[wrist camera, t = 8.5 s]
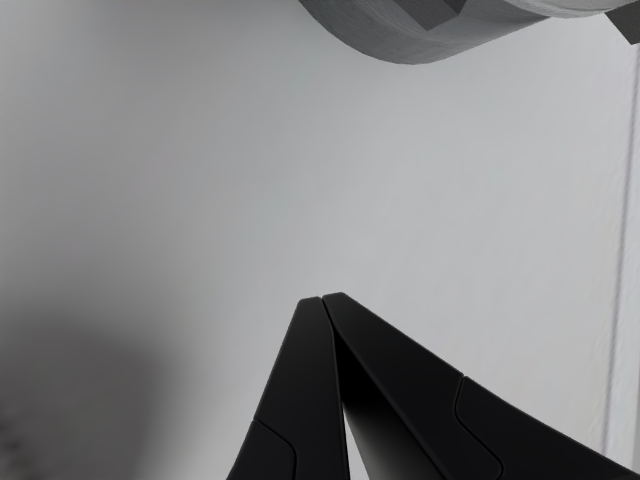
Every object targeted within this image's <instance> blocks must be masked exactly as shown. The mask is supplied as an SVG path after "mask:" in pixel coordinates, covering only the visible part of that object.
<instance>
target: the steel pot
mask: <svg viewBox="0 0 640 480" xmlns="http://www.w3.org/2000/svg"><path fill="white" fill-rule="evenodd" d="M299 1H300V2H301V3H302V5H303V6H304V7H305V8H306V9H307V10H308V12H309V13H310V14H311V15H312V16H313V17H314V18H315V19H316V20H317V21H318V22H319V23H320V24H321V25H322V26H323V27H324V28H325V29H327V30H328V31H329V32H330V33H331V34H333V35H334V36H336V37H337V38H338V39H340V40H341V41H342V42H344V43H345V44H347V45H349V46H350V47H352V48H354V49H356V50H358V51H360V52H361V53H363V54H366V55H369V56H371V57H374V58H377V59H379V60H383V61H388V62H392V63H397V64H412V65H414V64H424V63H431V62H435V61H438V60H442V59H445V58H448V57H450V56H453V55H456V54H458V53H461V52H463V51H466V50H468V49H471V48H473V47H476V46H479V45H481V44H484V43H486V42H489V41H491V40H494V39H496V38H499V37H502V36H504V35H507V34H509V33H512V32H514V31H517V30H519V29H522V28H525V27H527V26H530V25H532V24H535V23H537V22H540V21H542V20H545V19H548V18H550V16H543V15H540V14H537V13H533V12H530V11H527V10H524V9H521V8H518V7H516V6H514V5H512V4H510V3H508V2H506V1H504V0H299ZM604 13H605V14H606V16H607V17H608V18H609V19H610V20H611V22H612V23H613V24H614V25H615V26H616V27H617V29H618V30H619V31H620V32H621V33H622V35H623V36H624V37H625V38H626V39H627V40H628V42H629V43H630V44H631V45H633V44H636V43H640V0H638V1H635V2H632V3H630V4H627V5H624V6H621V7H619V8H616V9H613V10H610V11H607V12H604Z"/></svg>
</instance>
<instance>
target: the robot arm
mask: <svg viewBox="0 0 640 480" xmlns="http://www.w3.org/2000/svg"><path fill="white" fill-rule="evenodd" d="M343 410H344V413H345V416H346V418H347V421H348V424H349V427H350V429H351V432H352V435H353V437H354V440H355V442H356V445H357V448H358V450H359V453H360V455H361V458H362V461H363V463H364V466H365V468H366V471H367V474H368V476H369V479H370V480H640V474H637V473H635V472H633V471H631V470H629V469H627V468H625V467H623V466H621V465H620V464H618V463H616V462H614V461H612V460H610V459H608V458H607V457H605V456H603V455H601V454H599V453H597V452H596V451H594V450H592V449H590V448H588V447H586V446H585V445H583V444H581V443H579V442H577V441H575V440H574V439H572V438H570V437H568V436H566V435H564V434H563V433H561V432H559V431H557V430H555V429H553V428H552V427H550V426H548V425H546V424H544V423H542V422H541V421H539V420H537V419H535V418H534V417H532V416H530V415H528V414H527V413H525V412H523V411H521V410H520V409H518V408H516V407H514V406H513V405H511V404H509V403H508V402H506V401H504V400H503V399H501V398H500V397H498V396H497V395H495V394H494V393H492V392H490V391H489V390H487V389H486V388H484V387H483V386H481V385H480V384H478V383H477V382H475V381H474V380H472V379H471V378H469V377H468V376H465V377H464V374H463V373H462V372H460V371H459V370H457V369H456V368H454V367H453V366H451V365H450V364H448V363H447V362H445V361H444V360H442V359H441V358H439V357H438V356H436V355H435V354H434V353H432V352H431V351H429V350H428V349H426V348H425V347H423V346H422V345H420V344H419V343H417V342H416V341H414V340H413V339H411V338H410V337H408V336H407V335H405V334H404V333H403V332H401V331H400V330H398V329H397V328H395V327H394V326H392V325H391V324H389V323H388V322H386V321H385V320H383V319H382V318H380V317H379V316H377V315H376V314H374V313H373V312H371V311H370V310H369V309H367V308H366V307H364V306H363V305H361V304H360V303H358V302H357V301H355V300H354V299H352V298H351V297H349V296H348V295H346V294H345V293H343V292H338V293H333V294H327V295H324V296H323V297H322V299H321V298H320V297H318V296H316V297H311V298H305V299H301V300H300V301H299V302H298V304H297V307H296V309H295V312H294V315H293V317H292V320H291V322H290V325H289V327H288V330H287V333H286V335H285V338H284V340H283V343H282V345H281V348H280V351H279V353H278V356H277V358H276V361H275V363H274V366H273V369H272V371H271V374H270V376H269V379H268V381H267V384H266V387H265V389H264V392H263V394H262V397H261V399H260V402H259V405H258V407H257V410H256V412H255V415H254V418H253V421H252V422H251V425H250V427H249V430H248V432H247V435H246V437H245V440H244V442H243V444H242V447H241V449H240V451H239V454H238V456H237V458H236V461H235V463H234V465H233V467H232V469H231V471H230V473H229V475H228V477H227V479H226V480H351V479H350V470H349V461H348V451H347V442H346V432H345V423H344V414H343Z"/></svg>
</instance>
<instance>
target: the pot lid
mask: <svg viewBox="0 0 640 480" xmlns="http://www.w3.org/2000/svg"><path fill="white" fill-rule="evenodd" d="M504 1H506V2H508V3H510V4H512V5H514V6H516V7H518V8H521V9H524V10H527V11H530V12H533V13H537V14H540V15H543V16H550V17H558V18H580V17H589V16H593V15H597V14H600V13H604V12H607V11H610V10H613V9H616V8H619V7H621V6H624V5H627V4H630V3H632V2H635V1H638V0H504Z"/></svg>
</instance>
